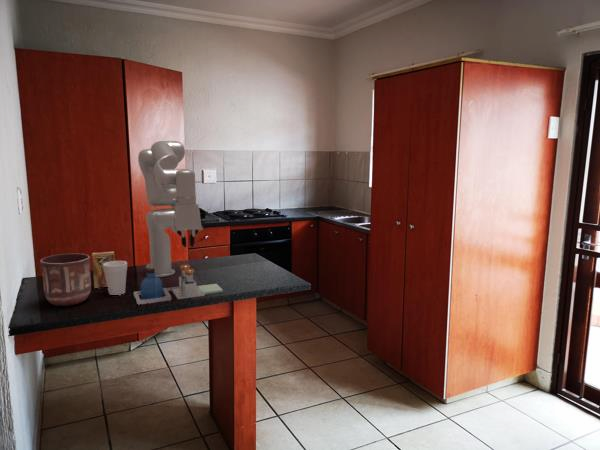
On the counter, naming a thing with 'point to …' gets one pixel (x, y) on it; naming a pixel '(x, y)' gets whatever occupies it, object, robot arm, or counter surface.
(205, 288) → the mat
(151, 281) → the perfume bottle
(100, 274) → the candy box
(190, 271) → the plunger
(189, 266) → the plunger
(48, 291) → the pottery
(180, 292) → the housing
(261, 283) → the counter surface
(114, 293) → the foam cup
